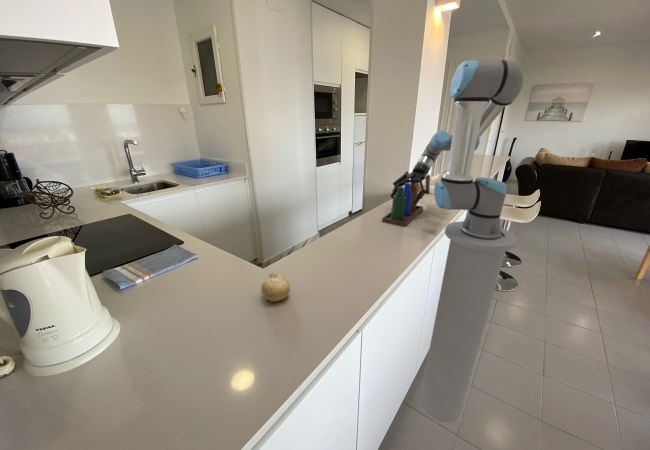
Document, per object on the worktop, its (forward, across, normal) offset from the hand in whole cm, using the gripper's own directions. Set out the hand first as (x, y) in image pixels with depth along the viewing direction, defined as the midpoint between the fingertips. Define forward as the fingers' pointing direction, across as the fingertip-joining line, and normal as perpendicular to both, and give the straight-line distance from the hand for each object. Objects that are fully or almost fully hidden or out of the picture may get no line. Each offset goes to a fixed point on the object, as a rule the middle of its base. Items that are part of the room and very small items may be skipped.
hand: (402, 200), depth 140 cm
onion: (+67, -16, +54) cm, 87 cm away
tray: (+4, 0, -8) cm, 9 cm away
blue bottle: (+4, 0, -8) cm, 9 cm away
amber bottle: (-3, +3, -14) cm, 15 cm away
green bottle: (+11, -2, -1) cm, 11 cm away
